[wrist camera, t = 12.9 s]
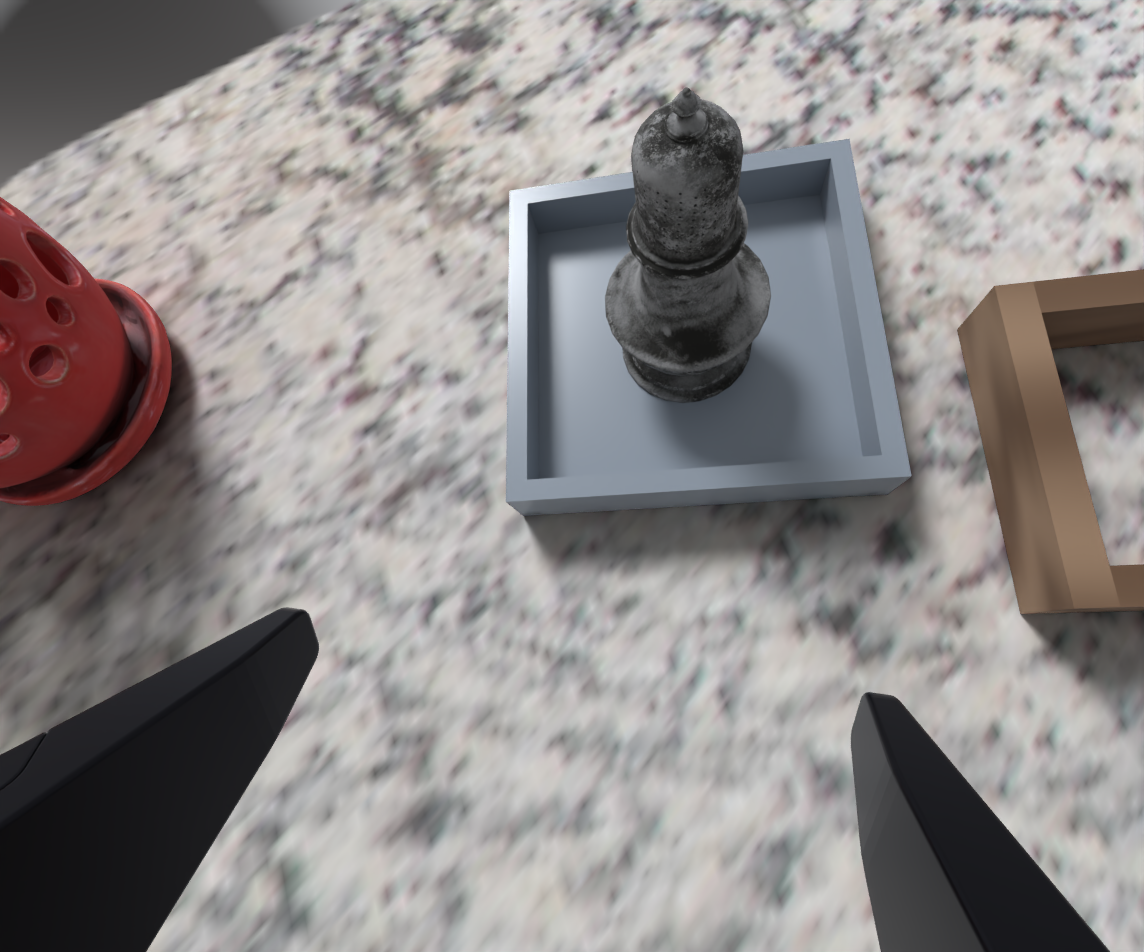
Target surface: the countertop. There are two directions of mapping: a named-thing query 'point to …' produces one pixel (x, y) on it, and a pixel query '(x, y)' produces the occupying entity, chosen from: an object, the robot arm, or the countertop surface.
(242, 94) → the countertop surface
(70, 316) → the plant pot
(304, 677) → the robot arm
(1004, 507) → the socket block
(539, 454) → the tray
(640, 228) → the salt shaker
